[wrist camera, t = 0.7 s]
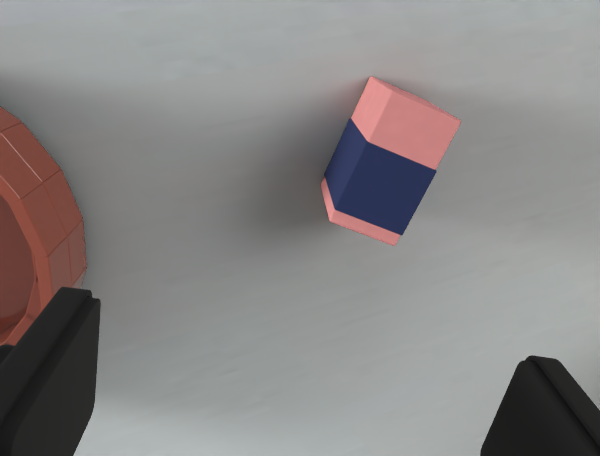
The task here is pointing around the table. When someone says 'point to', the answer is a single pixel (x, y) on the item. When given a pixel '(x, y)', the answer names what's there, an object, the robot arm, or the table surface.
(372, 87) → the eraser
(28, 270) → the bowl
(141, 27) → the table surface
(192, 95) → the table surface
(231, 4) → the table surface
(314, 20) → the table surface
